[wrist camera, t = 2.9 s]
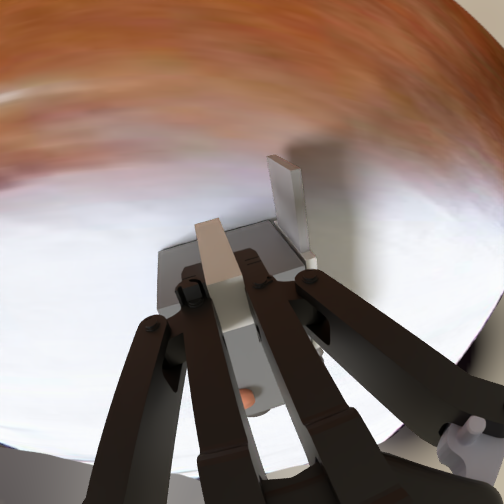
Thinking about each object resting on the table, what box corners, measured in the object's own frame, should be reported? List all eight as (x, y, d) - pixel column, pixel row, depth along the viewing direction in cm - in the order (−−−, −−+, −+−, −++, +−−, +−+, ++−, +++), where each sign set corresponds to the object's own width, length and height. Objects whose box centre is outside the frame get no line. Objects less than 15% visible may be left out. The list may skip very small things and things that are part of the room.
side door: (260, 153, 23) (295, 175, 17) (271, 151, 23) (311, 172, 17) (285, 309, 32) (313, 359, 25) (294, 306, 32) (323, 355, 25)
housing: (158, 251, 25) (156, 317, 18) (280, 216, 27) (324, 266, 19) (213, 379, 35) (228, 439, 27) (298, 352, 36) (326, 407, 29)
